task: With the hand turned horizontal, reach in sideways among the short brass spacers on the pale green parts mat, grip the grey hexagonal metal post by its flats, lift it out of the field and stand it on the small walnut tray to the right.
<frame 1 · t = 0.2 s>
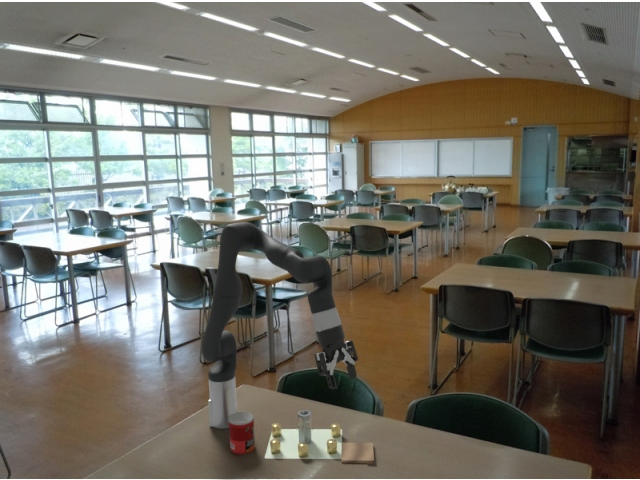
hand: (343, 383, 146), 31 cm above the table, tool tilted 20°, fingers open, 8 cm apart
spacers: (304, 439, 171), on the parts mat
canned food: (242, 449, 171), on the table
parts mat: (305, 444, 173), on the table
grey hexagonal metal post: (305, 441, 173), resting on parts mat
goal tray: (357, 454, 166), on the table
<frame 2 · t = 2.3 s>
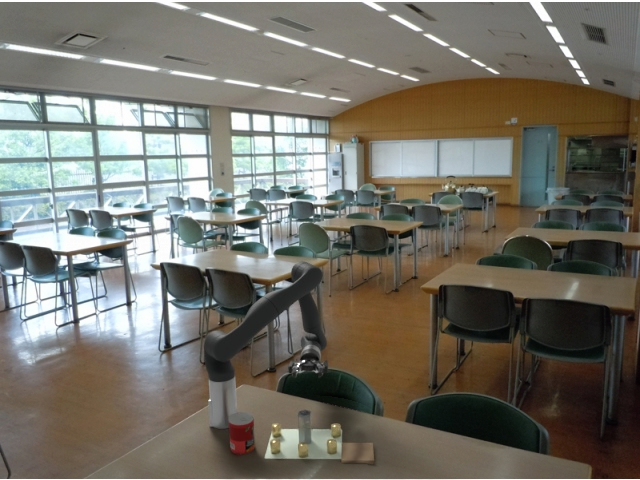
hand: (307, 375, 184), 18 cm above the table, tool horizontal, fingers open, 8 cm apart
nothing on the table moved.
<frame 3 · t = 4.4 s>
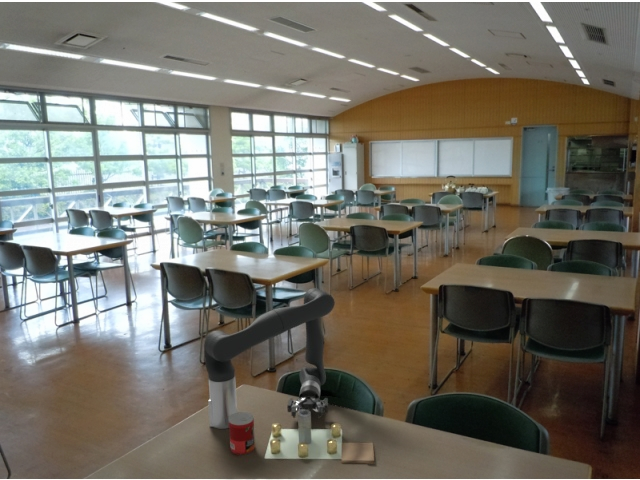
hand: (306, 415, 180), 6 cm above the table, tool horizontal, fingers open, 8 cm apart
nothing on the table moved.
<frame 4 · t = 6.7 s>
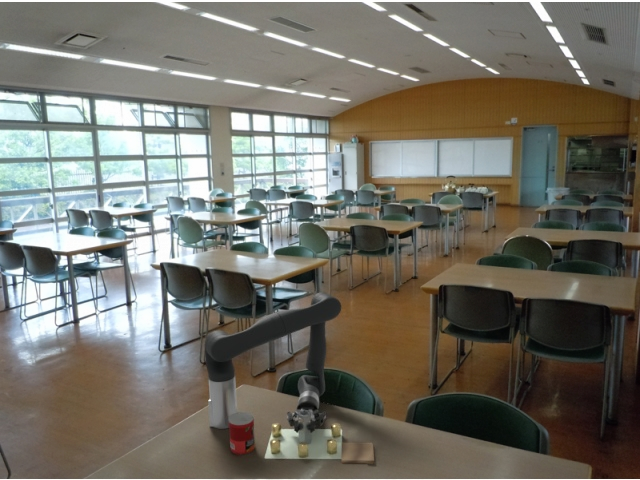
hand: (304, 429, 170), 6 cm above the table, tool horizontal, fingers closed on grey hexagonal metal post, 4 cm apart
grey hexagonal metal post: (305, 441, 173), resting on parts mat, touching gripper
everything else where it was.
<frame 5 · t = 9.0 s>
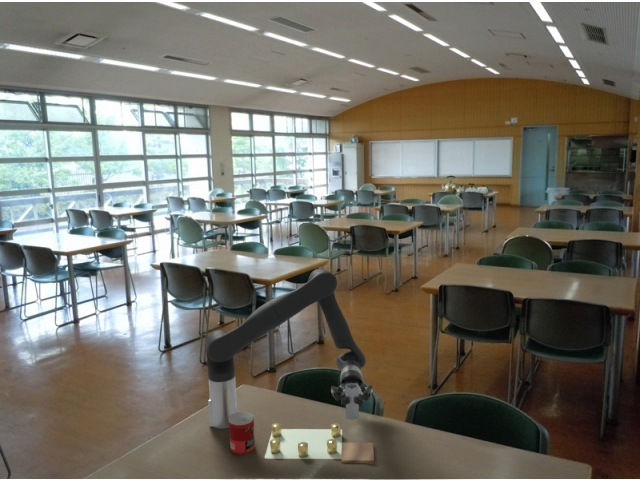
hand: (352, 403, 161), 18 cm above the table, tool horizontal, fingers closed on grey hexagonal metal post, 4 cm apart
grey hexagonal metal post: (352, 416, 165), point 12 cm above the table, touching gripper
everything else where it was.
when the fingers open (9 cm above the table, at t = 11.3 s): grey hexagonal metal post drops 2 cm, resting on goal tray.
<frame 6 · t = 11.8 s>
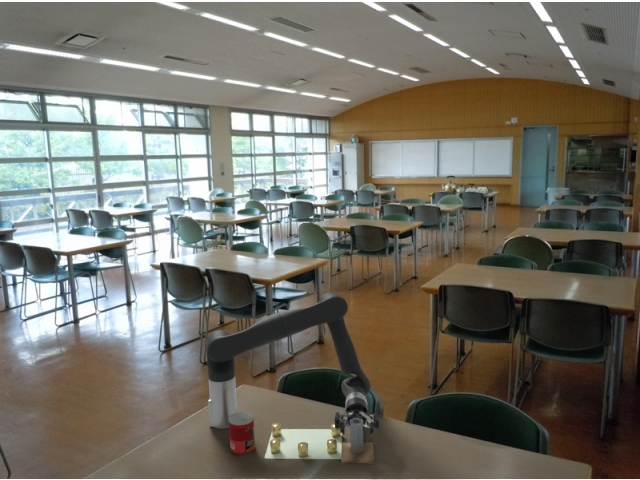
hand: (357, 431, 162), 9 cm above the table, tool horizontal, fingers open, 8 cm apart
grey hexagonal metal post: (357, 451, 166), point 1 cm above the table, touching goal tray
everything else where it was.
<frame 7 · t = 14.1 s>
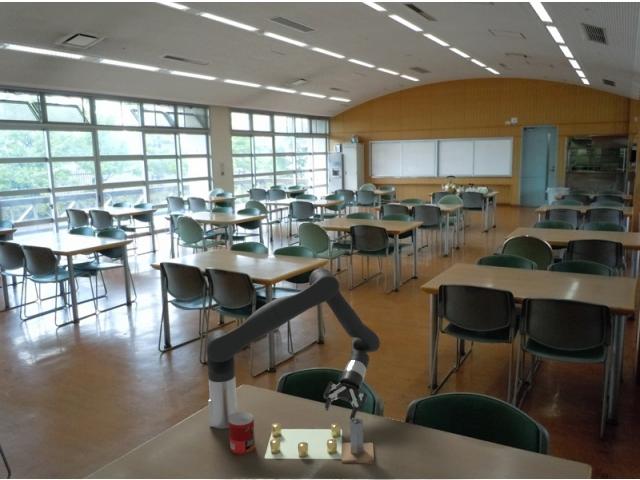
hand: (338, 413, 176), 8 cm above the table, tool tilted 65°, fingers open, 8 cm apart
nothing on the table moved.
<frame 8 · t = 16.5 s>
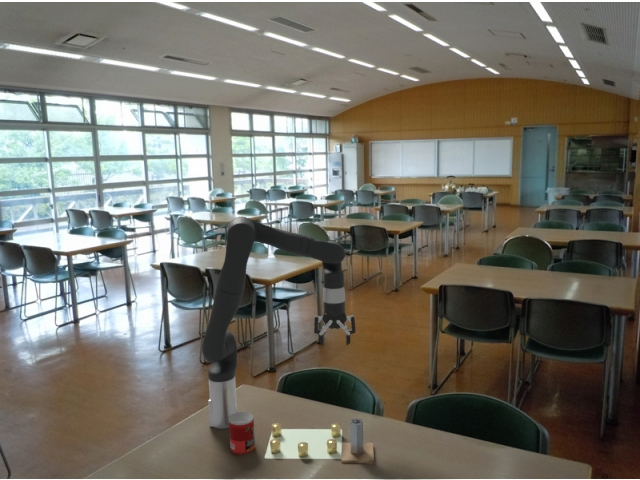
hand: (335, 344, 183), 28 cm above the table, tool pointing down, fingers open, 8 cm apart
nothing on the table moved.
at the end: grey hexagonal metal post inside the target area on the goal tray (0.1 cm from its centre), point 1.2 cm above the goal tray's base; grey hexagonal metal post tilted 0°; the gripper is holding nothing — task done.
